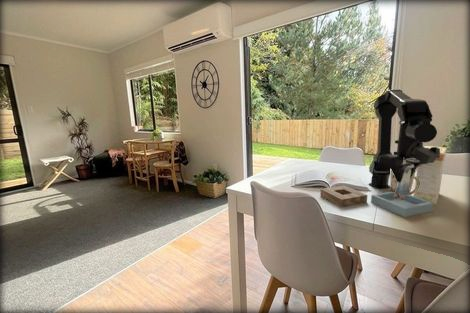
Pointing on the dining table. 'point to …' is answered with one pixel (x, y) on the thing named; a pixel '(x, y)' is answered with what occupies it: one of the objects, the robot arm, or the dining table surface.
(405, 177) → the clear glass cylinder
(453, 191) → the dining table surface
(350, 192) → the socket block
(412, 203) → the tray
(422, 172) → the coffeecake box
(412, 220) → the dining table surface
